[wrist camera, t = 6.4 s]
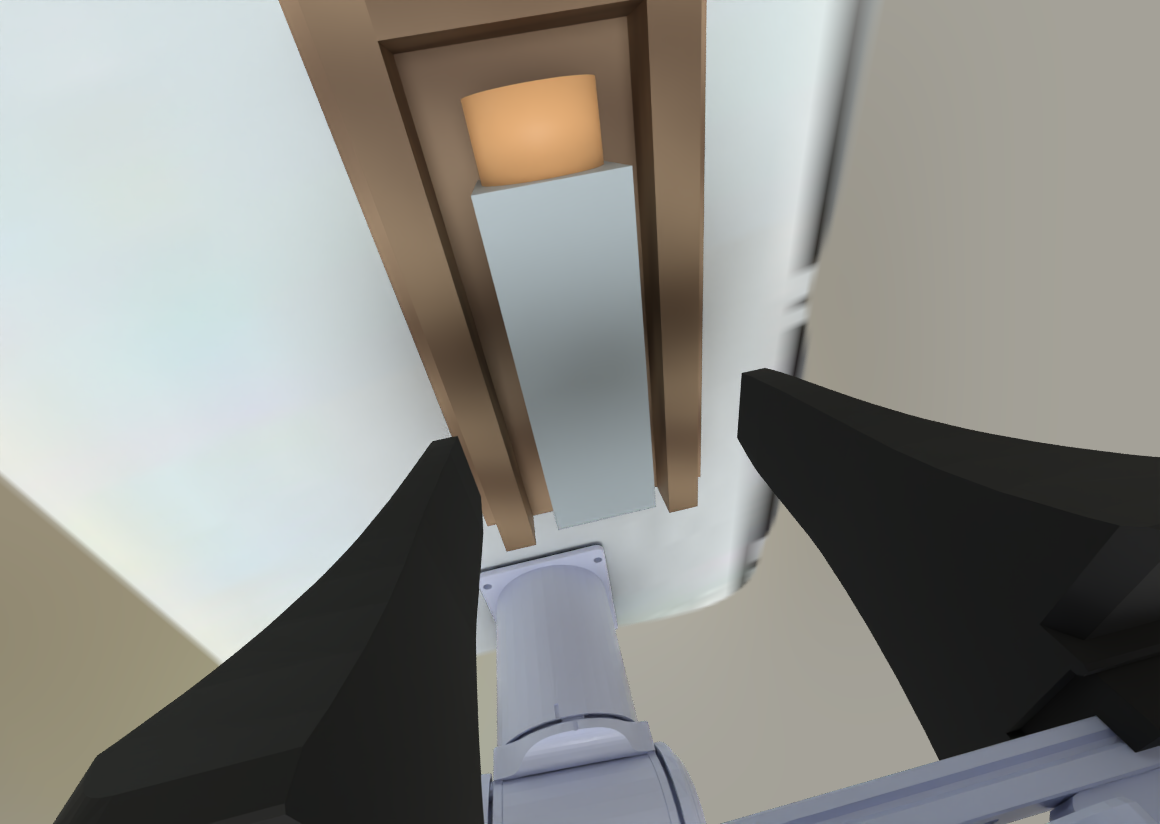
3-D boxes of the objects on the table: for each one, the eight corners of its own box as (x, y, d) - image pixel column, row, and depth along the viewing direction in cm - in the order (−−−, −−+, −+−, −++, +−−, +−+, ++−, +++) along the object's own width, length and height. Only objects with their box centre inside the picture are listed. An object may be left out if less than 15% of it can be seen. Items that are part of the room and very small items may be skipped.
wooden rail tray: (693, 465, 24) (716, 501, 22) (487, 512, 24) (487, 556, 21) (693, -55, 13) (741, -102, 10) (292, 7, 12) (240, -27, 10)
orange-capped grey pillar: (624, 435, 21) (656, 506, 17) (545, 452, 21) (558, 529, 17) (584, 86, 13) (625, 61, 9) (459, 107, 13) (443, 92, 9)
